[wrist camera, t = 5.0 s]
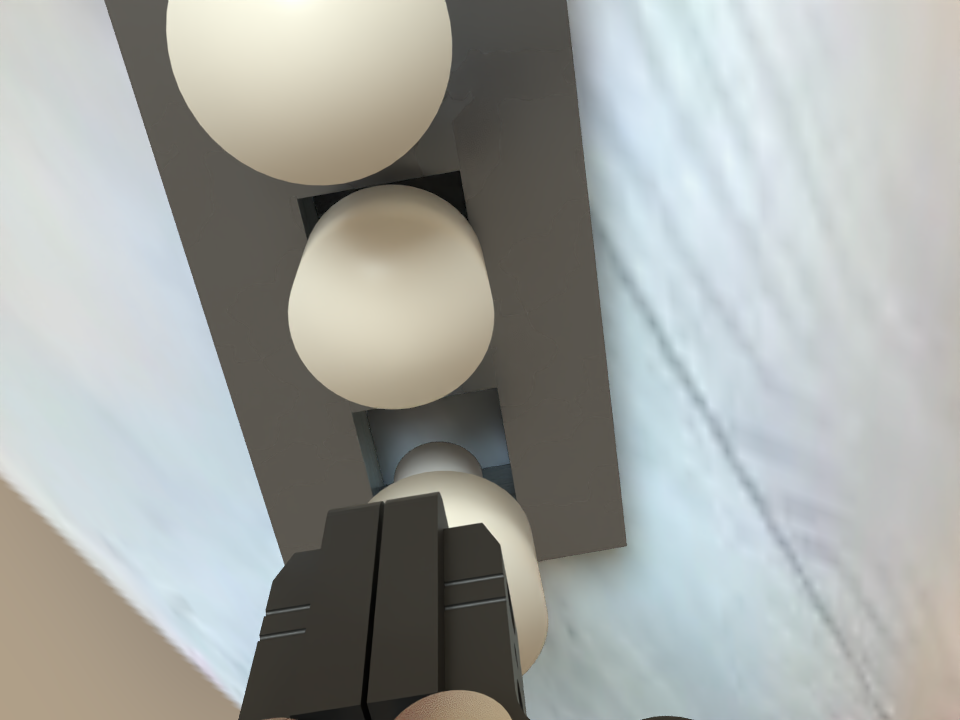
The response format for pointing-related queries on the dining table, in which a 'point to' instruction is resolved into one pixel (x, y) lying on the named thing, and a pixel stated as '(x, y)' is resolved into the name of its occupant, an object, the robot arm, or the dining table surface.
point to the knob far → (494, 508)
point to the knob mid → (391, 298)
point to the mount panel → (508, 259)
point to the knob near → (312, 80)
